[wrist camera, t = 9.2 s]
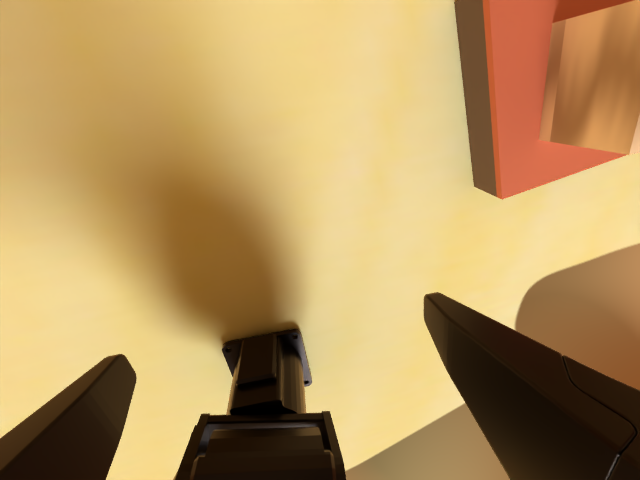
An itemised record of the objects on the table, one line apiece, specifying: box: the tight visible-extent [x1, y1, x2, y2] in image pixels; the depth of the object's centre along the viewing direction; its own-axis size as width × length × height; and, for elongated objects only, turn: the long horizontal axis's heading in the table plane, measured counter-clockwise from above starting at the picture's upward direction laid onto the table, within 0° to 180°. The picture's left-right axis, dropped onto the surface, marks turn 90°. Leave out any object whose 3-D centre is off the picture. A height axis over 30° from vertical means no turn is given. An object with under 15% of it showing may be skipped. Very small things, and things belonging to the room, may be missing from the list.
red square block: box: [454, 0, 634, 199], centre depth 17 cm, size 11×11×4 cm
